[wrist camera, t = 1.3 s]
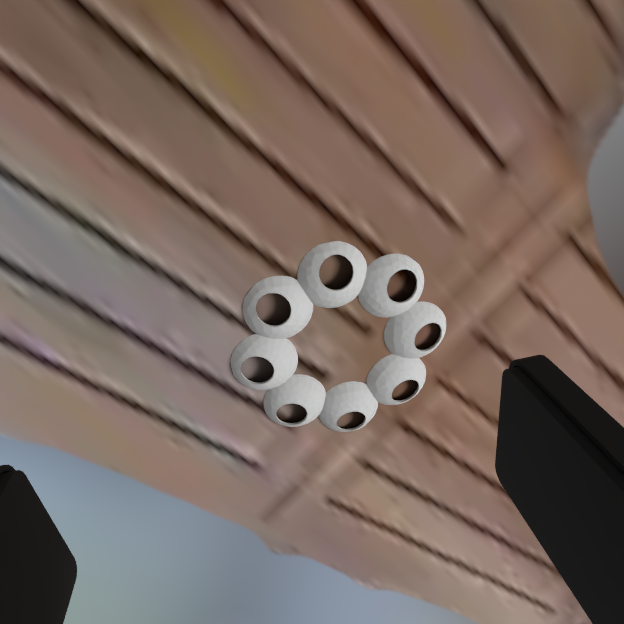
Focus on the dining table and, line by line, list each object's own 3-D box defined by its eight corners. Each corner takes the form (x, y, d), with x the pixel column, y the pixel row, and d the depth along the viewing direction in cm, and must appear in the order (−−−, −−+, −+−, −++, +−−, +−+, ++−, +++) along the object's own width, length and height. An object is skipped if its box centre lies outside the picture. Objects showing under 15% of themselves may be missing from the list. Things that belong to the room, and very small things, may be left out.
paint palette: (208, 259, 37) (207, 268, 35) (446, 221, 39) (457, 228, 37) (249, 447, 46) (250, 462, 44) (441, 408, 48) (449, 421, 46)
